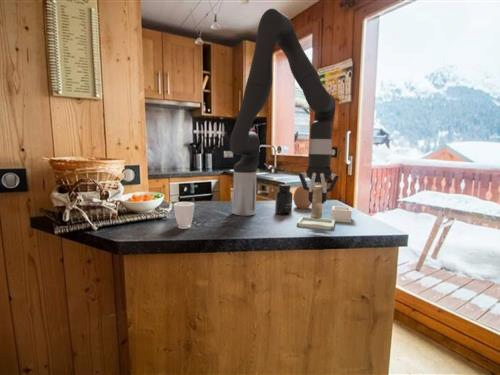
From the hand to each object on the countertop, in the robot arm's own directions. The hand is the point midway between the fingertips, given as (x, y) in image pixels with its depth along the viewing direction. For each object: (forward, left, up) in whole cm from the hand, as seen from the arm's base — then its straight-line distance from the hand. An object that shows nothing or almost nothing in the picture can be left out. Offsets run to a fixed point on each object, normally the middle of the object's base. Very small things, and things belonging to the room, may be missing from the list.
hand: (317, 202), depth 102 cm
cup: (-43, -16, -9) cm, 47 cm away
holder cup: (+8, +11, -9) cm, 16 cm away
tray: (0, 0, -9) cm, 9 cm away
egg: (-9, +26, -9) cm, 28 cm away
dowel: (0, 0, -5) cm, 5 cm away
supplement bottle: (-15, +15, -9) cm, 23 cm away
